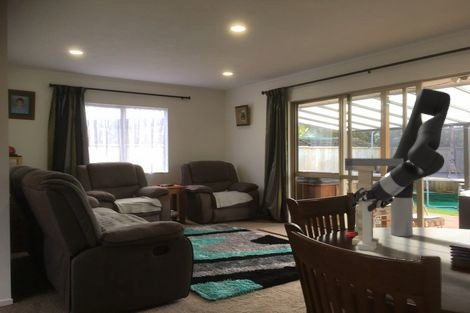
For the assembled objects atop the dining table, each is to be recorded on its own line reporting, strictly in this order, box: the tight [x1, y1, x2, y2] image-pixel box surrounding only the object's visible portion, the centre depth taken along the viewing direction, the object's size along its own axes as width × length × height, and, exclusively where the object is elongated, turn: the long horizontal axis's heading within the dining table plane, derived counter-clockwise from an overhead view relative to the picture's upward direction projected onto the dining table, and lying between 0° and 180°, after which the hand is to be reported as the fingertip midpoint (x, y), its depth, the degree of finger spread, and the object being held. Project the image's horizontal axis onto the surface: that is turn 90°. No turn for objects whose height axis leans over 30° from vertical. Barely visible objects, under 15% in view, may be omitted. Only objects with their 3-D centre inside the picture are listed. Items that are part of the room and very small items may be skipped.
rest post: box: [356, 195, 377, 252], centre depth 144 cm, size 6×8×22 cm
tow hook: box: [344, 207, 358, 238], centre depth 168 cm, size 8×13×9 cm
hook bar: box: [344, 157, 403, 171], centre depth 151 cm, size 3×22×5 cm, turn 60°
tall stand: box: [351, 166, 380, 247], centre depth 152 cm, size 8×9×32 cm
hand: (359, 207), depth 141 cm, fingers open, 7 cm apart
